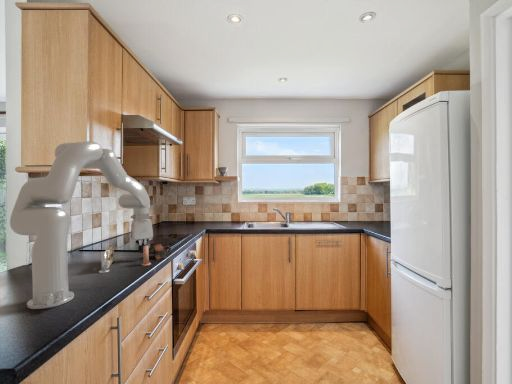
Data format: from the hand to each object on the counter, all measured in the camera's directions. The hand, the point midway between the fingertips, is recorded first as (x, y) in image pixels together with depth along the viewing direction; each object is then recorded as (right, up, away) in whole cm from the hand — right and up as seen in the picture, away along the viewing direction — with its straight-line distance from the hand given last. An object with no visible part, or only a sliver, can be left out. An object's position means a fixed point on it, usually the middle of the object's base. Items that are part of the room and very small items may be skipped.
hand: (142, 252), depth 142 cm
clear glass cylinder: (-9, -5, -18) cm, 21 cm away
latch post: (+5, -4, -8) cm, 10 cm away
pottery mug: (+7, -5, +6) cm, 10 cm away
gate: (-13, -4, -8) cm, 16 cm away
